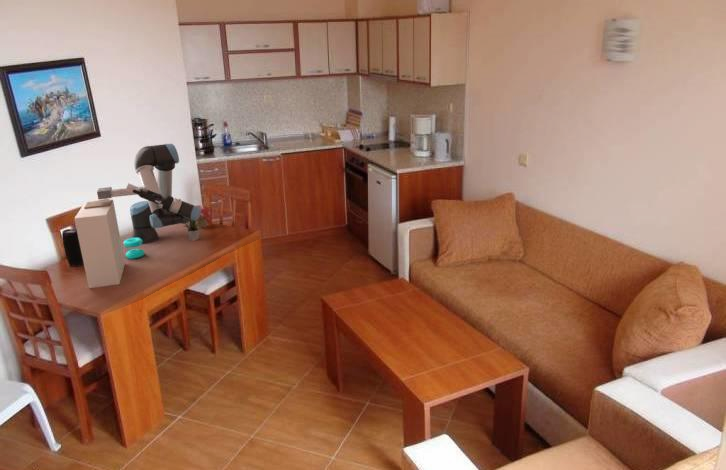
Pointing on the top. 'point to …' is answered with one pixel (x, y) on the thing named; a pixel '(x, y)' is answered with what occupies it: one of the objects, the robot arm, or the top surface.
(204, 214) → the decorative mushroom
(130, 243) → the donuts
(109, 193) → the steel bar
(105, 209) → the tall cream pillar block
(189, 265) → the top surface
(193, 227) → the house plant
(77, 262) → the portable speaker
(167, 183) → the robot arm
